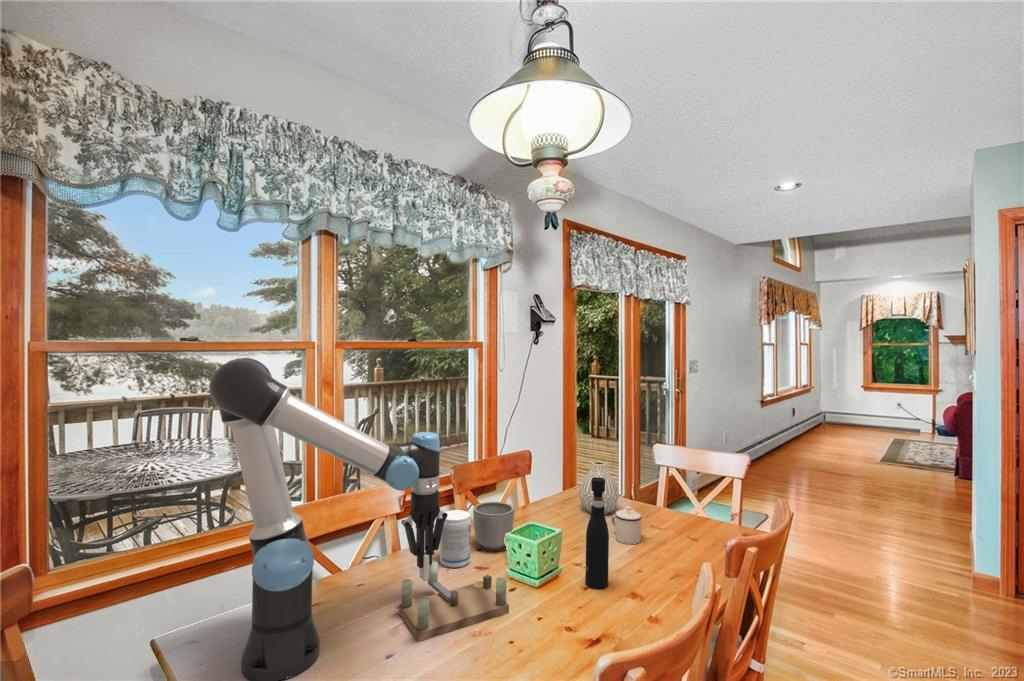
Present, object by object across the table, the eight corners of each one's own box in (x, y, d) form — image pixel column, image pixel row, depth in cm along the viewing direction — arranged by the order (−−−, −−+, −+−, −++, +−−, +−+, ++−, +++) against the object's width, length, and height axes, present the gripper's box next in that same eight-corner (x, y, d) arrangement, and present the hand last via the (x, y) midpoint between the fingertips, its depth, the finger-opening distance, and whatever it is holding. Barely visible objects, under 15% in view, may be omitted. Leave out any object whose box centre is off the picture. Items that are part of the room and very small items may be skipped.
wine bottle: (612, 584, 139) (614, 479, 139) (600, 592, 135) (601, 483, 135) (593, 576, 144) (595, 474, 144) (580, 584, 139) (582, 478, 139)
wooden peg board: (419, 641, 111) (419, 606, 111) (398, 611, 123) (398, 579, 123) (510, 612, 124) (510, 580, 124) (483, 587, 136) (483, 558, 136)
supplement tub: (475, 564, 150) (476, 516, 150) (448, 571, 145) (448, 522, 145) (461, 552, 158) (462, 507, 159) (434, 559, 153) (435, 512, 153)
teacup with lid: (646, 541, 170) (647, 507, 171) (630, 547, 165) (630, 513, 165) (619, 530, 180) (620, 498, 180) (603, 536, 174) (603, 503, 174)
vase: (578, 516, 194) (579, 466, 194) (579, 503, 210) (580, 457, 210) (619, 519, 191) (619, 468, 191) (617, 506, 207) (617, 459, 207)
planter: (521, 549, 162) (522, 510, 162) (486, 559, 154) (486, 518, 154) (499, 535, 173) (499, 499, 173) (465, 543, 165) (465, 505, 166)
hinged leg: (456, 598, 125) (456, 577, 125) (446, 602, 123) (446, 580, 123) (434, 580, 135) (434, 560, 135) (425, 583, 133) (425, 562, 133)
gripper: (409, 498, 124) (408, 591, 124) (453, 489, 132) (452, 576, 132) (396, 491, 130) (395, 579, 130) (439, 483, 138) (438, 566, 138)
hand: (424, 578), depth 131 cm, fingers closed
